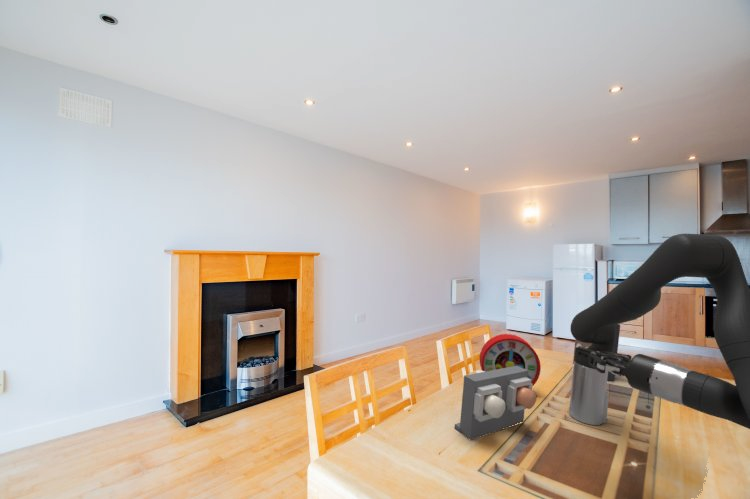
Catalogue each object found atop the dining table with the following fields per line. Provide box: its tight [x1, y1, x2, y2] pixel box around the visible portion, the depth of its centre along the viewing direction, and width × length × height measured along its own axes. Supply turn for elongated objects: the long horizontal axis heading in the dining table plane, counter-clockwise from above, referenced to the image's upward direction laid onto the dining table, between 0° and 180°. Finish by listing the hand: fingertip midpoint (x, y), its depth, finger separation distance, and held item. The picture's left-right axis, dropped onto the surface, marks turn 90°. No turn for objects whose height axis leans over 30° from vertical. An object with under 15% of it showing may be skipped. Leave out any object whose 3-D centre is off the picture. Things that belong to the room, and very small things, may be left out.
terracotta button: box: [516, 386, 537, 410], centre depth 98 cm, size 4×5×5 cm
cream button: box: [483, 394, 505, 418], centre depth 92 cm, size 4×5×5 cm
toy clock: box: [479, 333, 542, 387], centre depth 125 cm, size 20×6×20 cm, turn 80°
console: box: [454, 366, 534, 441], centre depth 99 cm, size 22×8×16 cm, turn 120°
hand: (577, 350), depth 86 cm, fingers closed
